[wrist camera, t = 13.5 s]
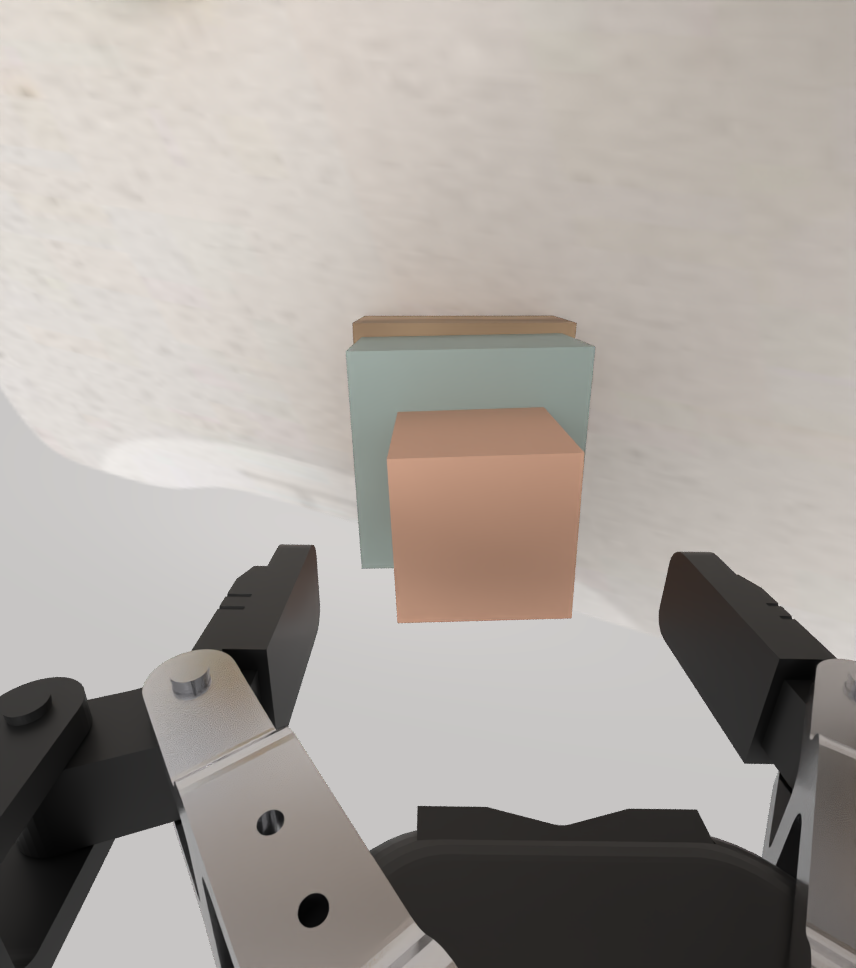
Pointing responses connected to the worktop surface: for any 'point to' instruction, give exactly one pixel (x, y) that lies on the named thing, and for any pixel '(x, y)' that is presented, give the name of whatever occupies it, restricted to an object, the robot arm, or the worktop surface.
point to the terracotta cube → (483, 515)
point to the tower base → (459, 325)
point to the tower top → (452, 399)
